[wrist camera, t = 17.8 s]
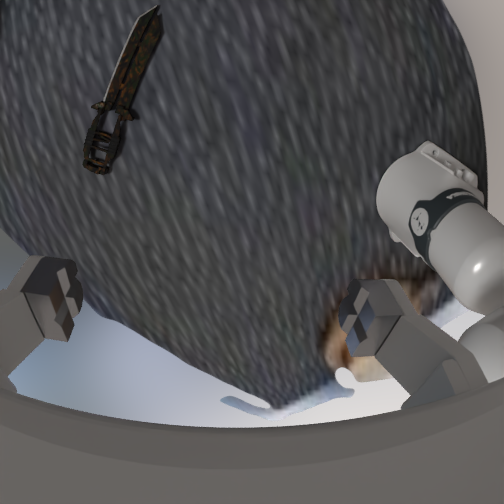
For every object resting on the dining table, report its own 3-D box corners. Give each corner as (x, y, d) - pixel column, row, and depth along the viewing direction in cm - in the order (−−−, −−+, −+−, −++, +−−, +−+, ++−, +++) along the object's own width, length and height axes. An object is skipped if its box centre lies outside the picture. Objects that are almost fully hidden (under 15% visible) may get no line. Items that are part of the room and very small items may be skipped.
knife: (149, 2, 27) (146, 0, 26) (191, 19, 29) (190, 17, 28) (74, 160, 38) (70, 163, 37) (110, 176, 41) (107, 180, 39)
